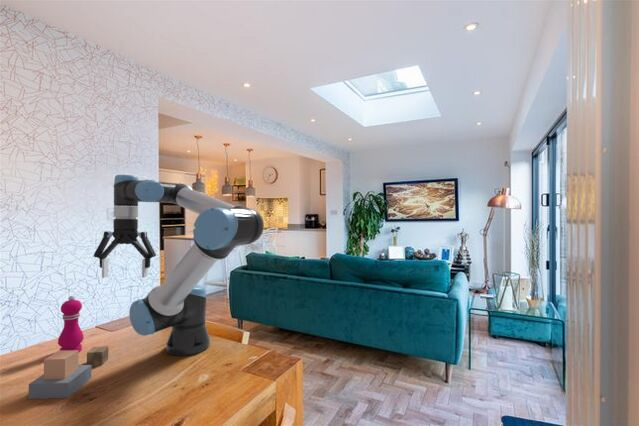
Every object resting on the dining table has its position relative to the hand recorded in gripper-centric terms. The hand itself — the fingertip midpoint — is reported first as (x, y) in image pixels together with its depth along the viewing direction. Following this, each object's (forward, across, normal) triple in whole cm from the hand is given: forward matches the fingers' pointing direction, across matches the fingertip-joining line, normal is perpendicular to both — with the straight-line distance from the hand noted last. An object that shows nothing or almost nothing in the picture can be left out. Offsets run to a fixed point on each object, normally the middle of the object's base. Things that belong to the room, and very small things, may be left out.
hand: (125, 276), depth 115 cm
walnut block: (+25, +6, +9) cm, 27 cm away
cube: (+23, +5, +24) cm, 33 cm away
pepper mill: (+27, +18, 0) cm, 32 cm away
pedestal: (+27, +5, +24) cm, 36 cm away
